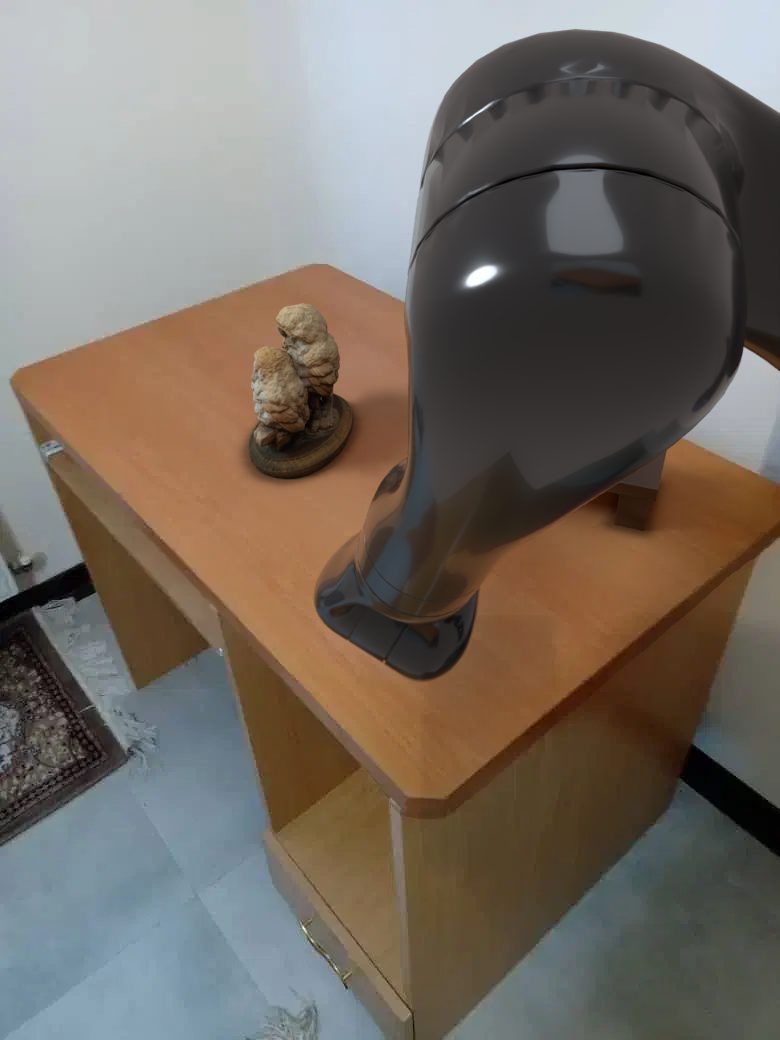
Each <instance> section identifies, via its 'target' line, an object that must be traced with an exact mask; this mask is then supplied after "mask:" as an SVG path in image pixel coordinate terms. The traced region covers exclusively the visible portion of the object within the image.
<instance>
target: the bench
mask: <svg viewBox="0 0 780 1040" xmlns="http://www.w3.org/2000/svg"><path fill="white" fill-rule="evenodd" d="M667 452H668V450H666V451H665V452H664V453H662V454H661V455H660V456H658V457H657V458H656V459H654V460H653V461H651V462H650V463H649V464H647V465H646V466H644V467H643V468H641V469H640V470H638V471H637V472H635V473H634V474H632V475H631V476H629V477H628V478H626V479H624V480H623V481H621V482H620V483H618V484H617V485H615V486H613V487H612V488H610V489H609V490H607V491H606V492H607V493H613V494H618V495H619V496H618V501H617V507H616V512H615V517H614V522H613V525H616V526H620V527H625V528H629V529H634V530H639V531H644V530H645V526H646V521H647V517H648V513H649V508H650V505H651V501H653V502H656V501H657V495H658V491H659V487H660V483H661V479H662V474H663V469H664V466H665V461H666V457H667V456H666V455H667Z"/></svg>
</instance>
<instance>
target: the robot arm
mask: <svg viewBox="0 0 780 1040" xmlns="http://www.w3.org/2000/svg"><path fill="white" fill-rule="evenodd" d="M404 296H405V298H404V308H403V327H404V333H405V342H406V353H407V371H408V373H407V374H408V376H407V377H408V378H407V379H408V381H407V382H408V383H407V385H408V388H407V389H408V391H407V392H408V403H407V404H408V406H407V407H408V415H407V416H408V417H407V418H408V421H407V422H408V423H407V424H408V425H407V426H408V429H407V430H408V433H407V434H408V439H407V455H406V457H404V458H403V459H402V460H401V461H399V462H398V463H396V464H395V465H394V466H393V467H391V469H390V470H389V472H387V473H386V475H385V476H384V477H383V479H382V480H381V481H380V483H379V485H378V487H377V489H376V491H375V493H374V495H373V496H372V499H371V500H370V501H371V502H370V504H369V506H368V510H367V513H366V515H365V518H364V522H363V524H362V528H361V530H360V531H358V532H356V533H355V534H354V535H352V536H351V537H350V538H348V539H347V540H346V541H345V542H343V544H342V545H341V546H339V547H338V548H337V549H336V550H335V551H334V552H333V553H332V554H331V556H330V557H329V559H327V561H326V563H325V564H324V565H323V567H322V568H321V571H320V573H319V575H318V576H317V579H316V581H315V585H314V588H313V589H314V590H313V597H312V598H313V606H314V609H315V612H316V614H317V616H318V618H319V619H320V621H321V622H322V623H323V624H324V625H325V626H326V628H328V629H329V630H330V631H332V632H333V633H334V634H336V635H337V636H339V637H340V638H341V639H343V640H345V641H346V642H348V643H349V644H351V645H353V646H354V647H356V648H357V649H359V650H361V651H362V652H364V653H366V654H367V655H369V656H370V657H372V658H373V659H375V660H376V661H378V662H379V663H384V666H385V667H387V668H389V669H390V670H392V672H394V673H396V674H398V675H399V676H401V677H403V678H405V679H407V680H409V681H412V682H416V683H429V682H432V681H436V680H438V679H440V678H442V677H444V676H445V675H447V674H448V673H450V672H451V671H452V670H453V669H454V668H455V667H456V666H457V665H458V664H459V662H460V661H461V660H462V658H463V657H464V656H465V654H466V651H467V649H468V647H469V645H470V642H471V640H472V638H473V634H474V629H475V625H476V621H477V616H478V611H479V609H478V608H479V603H480V602H479V601H480V594H481V586H482V585H483V583H484V582H485V581H486V579H488V577H489V576H490V574H491V573H492V572H493V570H494V569H495V568H496V567H497V566H498V564H499V563H500V562H501V561H502V560H503V559H504V558H505V557H506V556H507V555H508V554H510V553H511V552H512V551H514V550H515V549H516V548H518V547H519V546H521V545H523V544H524V543H526V542H528V541H529V540H531V539H533V538H534V537H536V536H538V535H539V534H541V533H544V531H546V530H548V529H550V528H551V527H553V526H554V525H556V524H557V523H559V522H561V521H562V520H565V518H567V517H569V516H570V515H572V514H573V513H575V512H576V511H578V510H579V509H581V508H582V507H583V506H585V505H587V504H588V503H590V502H591V501H593V500H595V499H596V498H598V497H600V496H601V495H603V494H604V493H606V492H607V490H609V489H610V488H612V487H613V486H615V485H617V484H618V483H620V482H621V481H623V480H624V479H626V478H628V477H629V476H631V475H632V474H634V473H635V472H637V471H638V470H640V469H641V468H643V467H644V466H646V465H647V464H649V463H650V462H651V461H653V460H654V459H656V458H657V457H658V456H660V455H661V454H662V453H664V452H665V451H666V450H667V451H668V450H669V449H670V448H672V447H673V446H674V445H676V444H677V443H678V442H679V441H680V440H682V439H683V438H684V437H685V436H686V435H687V434H689V432H691V431H692V430H693V429H694V428H695V427H696V426H698V424H700V422H701V421H702V420H703V419H704V418H706V416H708V414H709V413H711V411H712V410H713V409H714V408H715V406H716V405H717V404H718V403H719V402H720V400H721V399H722V398H723V397H724V395H725V394H726V392H727V390H728V389H729V387H730V385H731V384H732V383H733V380H735V377H736V375H737V373H738V371H739V368H740V366H741V363H742V359H743V355H744V350H745V349H746V350H747V351H750V352H751V353H753V354H755V355H756V356H758V357H759V358H760V359H762V361H764V362H766V363H767V364H769V365H770V366H772V367H773V368H774V369H776V370H777V371H778V372H780V112H779V111H778V110H776V109H774V108H773V107H771V106H770V105H768V104H766V103H765V102H763V101H761V100H760V99H758V98H757V97H755V96H753V95H752V94H750V93H749V92H748V91H746V90H745V89H742V88H741V87H739V86H738V85H736V84H734V83H733V82H731V81H730V80H728V79H726V78H724V77H723V76H721V75H719V74H718V73H716V72H715V71H713V70H711V69H710V68H708V67H706V66H705V65H703V64H702V63H699V62H697V61H695V60H694V59H691V57H688V56H686V55H684V54H682V53H680V52H678V51H676V50H674V49H672V48H670V47H668V46H665V45H662V44H660V43H657V42H654V41H650V40H646V39H642V38H639V37H636V36H632V35H629V34H626V33H621V32H618V31H617V32H616V31H607V30H597V29H596V30H595V29H582V28H581V29H580V28H572V29H563V30H553V31H545V32H538V33H535V34H531V35H529V36H526V37H522V38H519V39H516V40H513V41H509V42H506V43H503V44H502V45H500V46H499V47H497V48H495V49H494V50H492V51H490V52H487V54H485V55H483V56H481V57H480V58H477V59H476V60H475V61H474V62H473V63H472V64H471V65H470V66H468V67H467V68H466V69H465V70H464V71H463V72H462V73H461V74H460V75H459V76H458V77H457V78H456V79H455V80H454V81H453V83H452V84H451V85H450V87H449V88H448V89H447V91H446V92H445V94H444V95H443V97H442V99H441V101H440V103H439V104H438V107H437V109H436V112H435V114H434V116H433V120H432V122H431V126H430V128H429V132H428V136H427V140H426V144H425V149H424V155H423V160H422V167H421V174H420V182H419V191H418V196H417V201H416V208H415V216H414V223H413V231H412V239H411V246H410V253H409V260H408V268H407V279H406V288H405V295H404Z"/></svg>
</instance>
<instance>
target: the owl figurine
mask: <svg viewBox="0 0 780 1040" xmlns="http://www.w3.org/2000/svg"><path fill="white" fill-rule="evenodd" d="M275 323H276V328H277V331H278V332H279V335H281V336H282V337H283V338H282V342H281V348H279V347H275V346H270V345H265V346H264V345H263V346H262V347H260V348H258V349H257V350H256V351H255V352H254V353H253V356H254V362H253V371H252V374H251V383H250V387H251V391H252V402H253V403H254V408H253V409H254V410H253V411H254V414H255V415H256V418H257V420H258V421H259V422H257V423H256V425H255V427H254V428H253V429H252V432H251V434H250V437H249V443H248V453H249V458H250V460H251V461H250V462H252V463H253V464H254V465H255V469H257V471H259V472H260V473H262V474H264V475H268V476H271V477H274V478H280V479H291V478H299V477H304V476H307V475H309V474H313V473H314V472H316V471H319V470H320V469H321V468H323V467H324V466H326V465H327V464H328V463H330V462H331V461H332V460H334V459H335V458H336V457H337V456H338V455H339V454H340V452H342V451H343V450H344V448H345V446H346V444H347V442H348V440H349V438H350V436H351V435H352V430H353V425H354V417H353V416H354V414H353V410H352V407H351V405H350V404H349V402H348V401H347V400H346V399H344V398H343V397H342V396H341V395H338V394H337V393H334V385H335V384H336V383H337V382H338V379H339V377H340V374H339V370H340V368H341V363H340V361H341V356H340V353H339V352H340V351H339V346H338V343H337V342H336V340H335V336H333V335H332V334H331V332H329V330H328V322H327V320H326V318H325V317H324V316H323V314H322V312H320V311H319V310H318V308H317V307H315V306H314V305H312V304H310V303H305V302H303V303H302V302H301V303H299V304H292V305H287V306H283V307H282V308H281V309H280V310H279V312H278V314H277V315H276V318H275Z"/></svg>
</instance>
